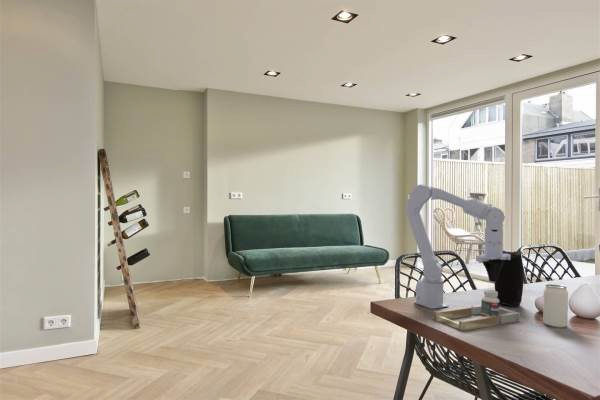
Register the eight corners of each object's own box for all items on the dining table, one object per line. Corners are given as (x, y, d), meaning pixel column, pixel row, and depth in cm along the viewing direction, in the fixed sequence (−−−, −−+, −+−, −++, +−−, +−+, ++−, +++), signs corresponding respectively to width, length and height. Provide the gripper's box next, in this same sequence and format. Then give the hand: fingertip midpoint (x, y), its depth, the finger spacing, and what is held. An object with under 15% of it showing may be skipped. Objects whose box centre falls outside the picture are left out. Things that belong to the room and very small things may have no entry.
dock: (471, 313, 138) (471, 306, 138) (488, 311, 141) (488, 303, 141) (501, 323, 127) (502, 315, 127) (519, 320, 130) (519, 313, 130)
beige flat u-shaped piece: (433, 319, 131) (433, 311, 131) (467, 314, 137) (468, 306, 137) (462, 330, 120) (462, 322, 120) (498, 324, 126) (498, 316, 126)
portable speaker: (490, 301, 154) (491, 250, 154) (514, 301, 154) (515, 250, 154) (501, 307, 145) (502, 253, 145) (527, 308, 145) (528, 253, 145)
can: (571, 328, 123) (572, 289, 123) (547, 327, 124) (548, 288, 124) (562, 322, 129) (562, 284, 129) (539, 320, 131) (540, 283, 131)
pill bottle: (491, 321, 129) (492, 293, 129) (477, 316, 134) (478, 290, 134) (502, 319, 132) (503, 292, 132) (487, 315, 136) (489, 288, 136)
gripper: (488, 244, 134) (487, 285, 134) (518, 242, 140) (517, 282, 140) (471, 242, 140) (470, 281, 140) (500, 240, 146) (500, 278, 146)
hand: (493, 281), depth 141 cm, fingers closed
